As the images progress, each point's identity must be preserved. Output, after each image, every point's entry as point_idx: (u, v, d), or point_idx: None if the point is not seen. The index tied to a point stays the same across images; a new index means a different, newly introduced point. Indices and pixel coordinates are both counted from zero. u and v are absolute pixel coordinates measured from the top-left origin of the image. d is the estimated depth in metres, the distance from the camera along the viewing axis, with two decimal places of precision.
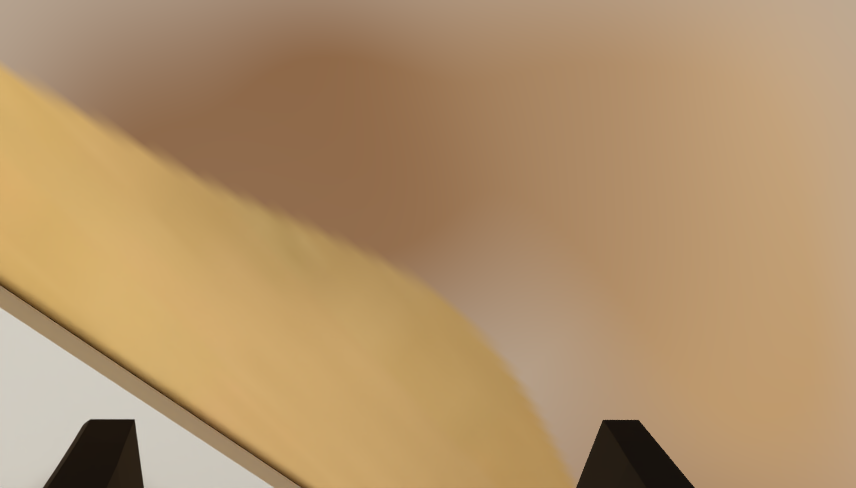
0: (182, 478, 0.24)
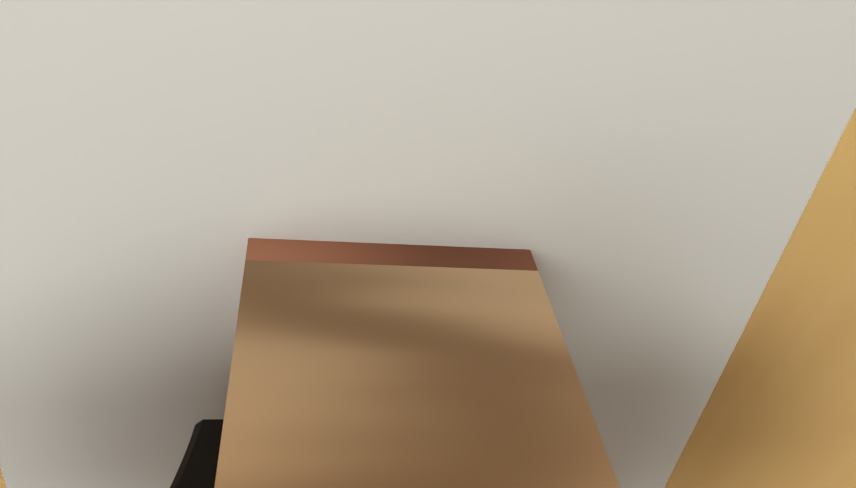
0: (634, 376, 0.13)
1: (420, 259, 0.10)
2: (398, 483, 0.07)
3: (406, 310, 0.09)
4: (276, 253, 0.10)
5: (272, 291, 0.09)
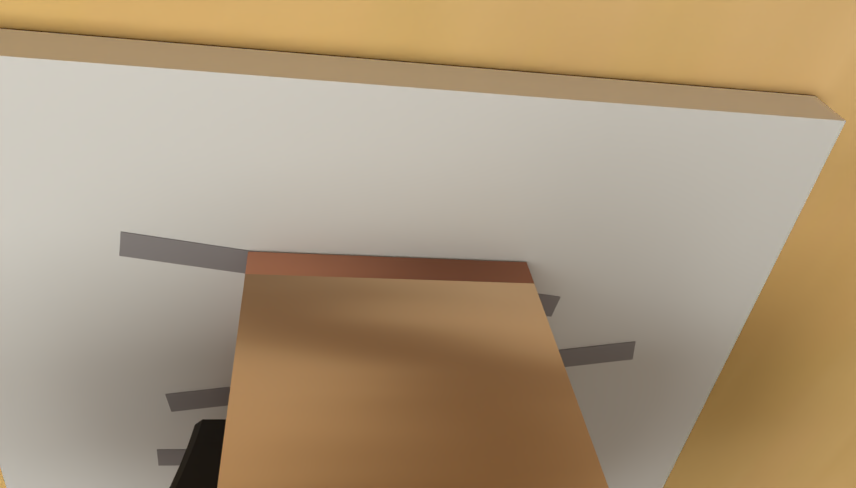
0: None
1: (418, 272, 0.10)
2: None
3: (404, 324, 0.10)
4: (276, 267, 0.10)
5: (272, 305, 0.10)
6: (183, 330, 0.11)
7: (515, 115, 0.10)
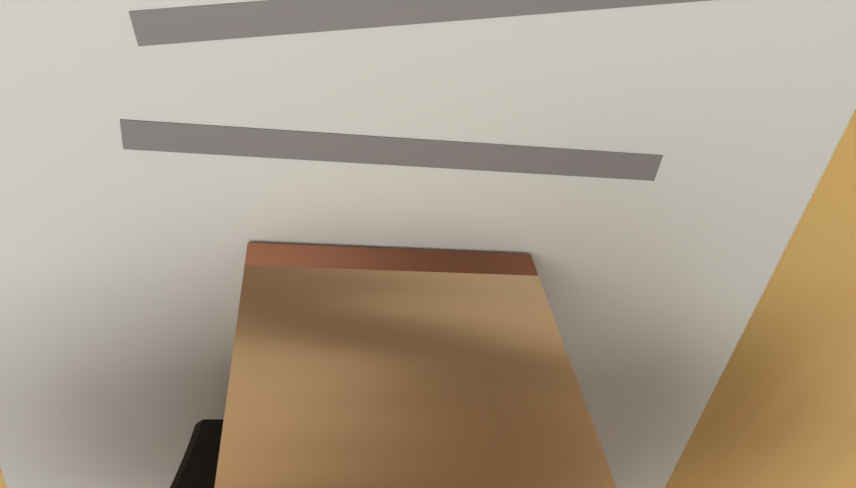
0: None
1: (420, 264, 0.10)
2: None
3: (406, 316, 0.09)
4: (276, 259, 0.10)
5: (271, 297, 0.09)
6: None
7: None
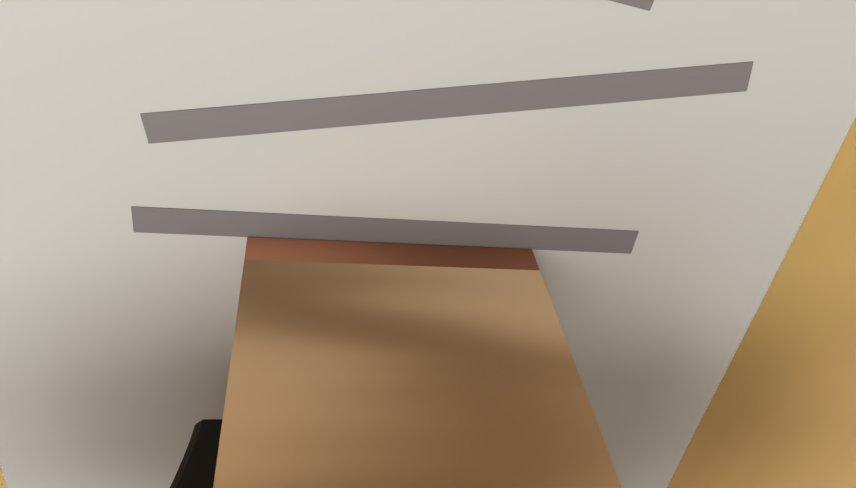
0: None
1: (421, 258, 0.10)
2: (398, 486, 0.07)
3: (407, 310, 0.09)
4: (276, 253, 0.10)
5: (271, 291, 0.09)
6: (163, 3, 0.08)
7: None
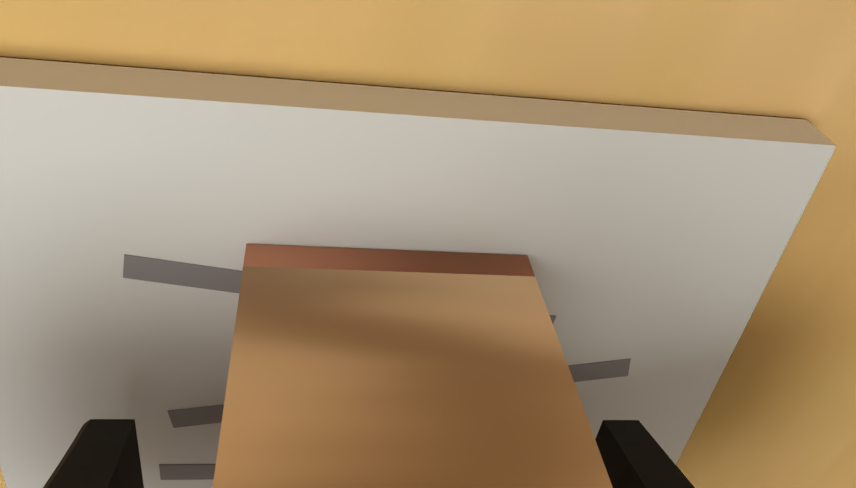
0: None
1: (418, 265, 0.10)
2: None
3: (403, 316, 0.09)
4: (274, 259, 0.10)
5: (270, 297, 0.09)
6: (186, 349, 0.11)
7: (511, 141, 0.10)
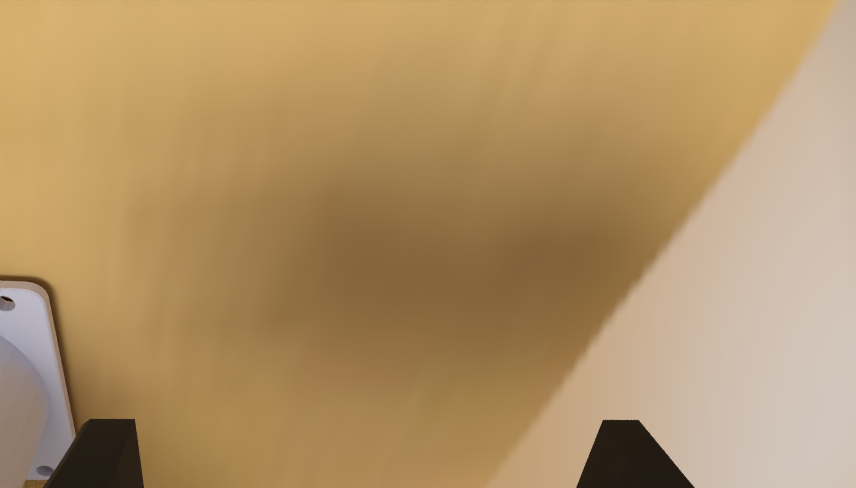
0: None
1: None
2: None
3: None
4: None
5: None
6: None
7: None
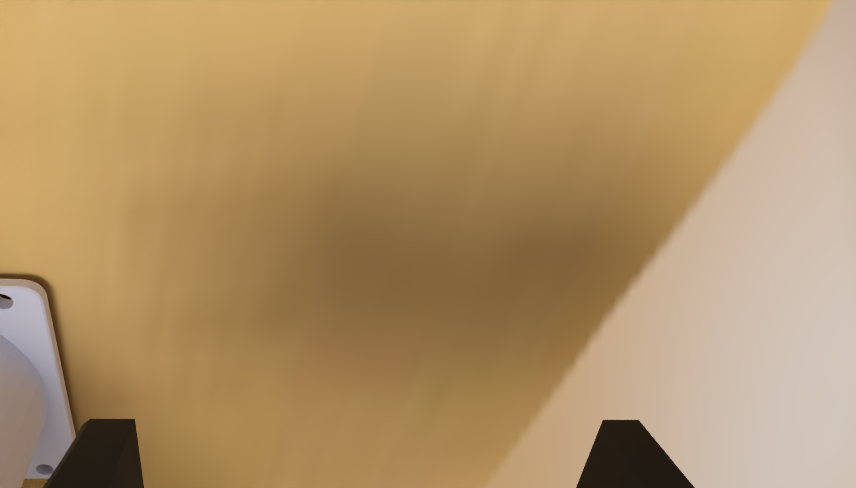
0: None
1: None
2: None
3: None
4: None
5: None
6: None
7: None
